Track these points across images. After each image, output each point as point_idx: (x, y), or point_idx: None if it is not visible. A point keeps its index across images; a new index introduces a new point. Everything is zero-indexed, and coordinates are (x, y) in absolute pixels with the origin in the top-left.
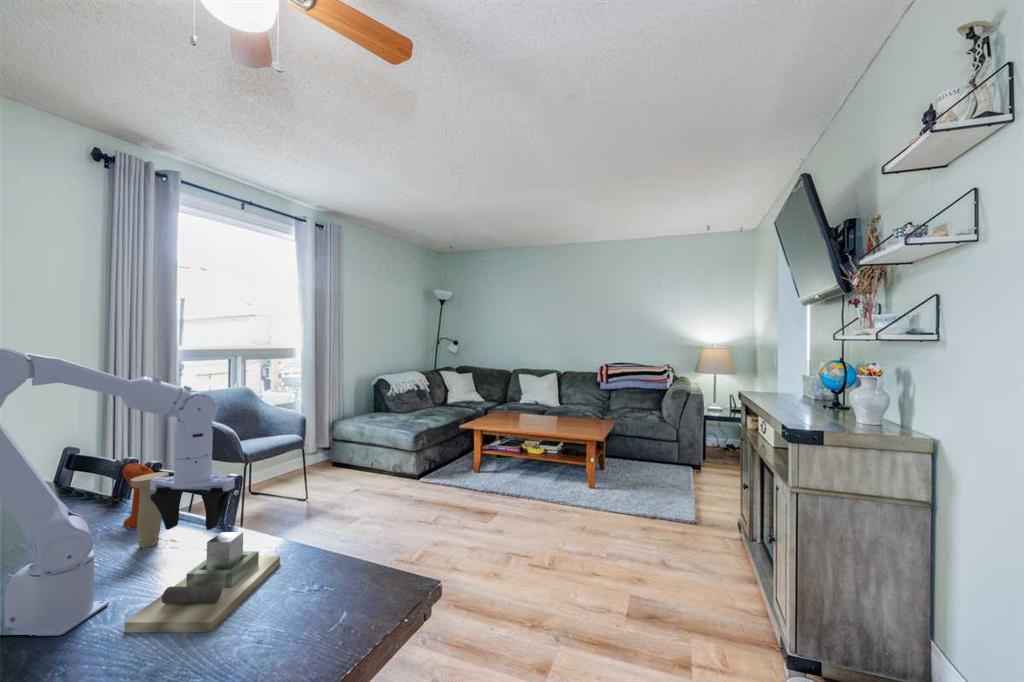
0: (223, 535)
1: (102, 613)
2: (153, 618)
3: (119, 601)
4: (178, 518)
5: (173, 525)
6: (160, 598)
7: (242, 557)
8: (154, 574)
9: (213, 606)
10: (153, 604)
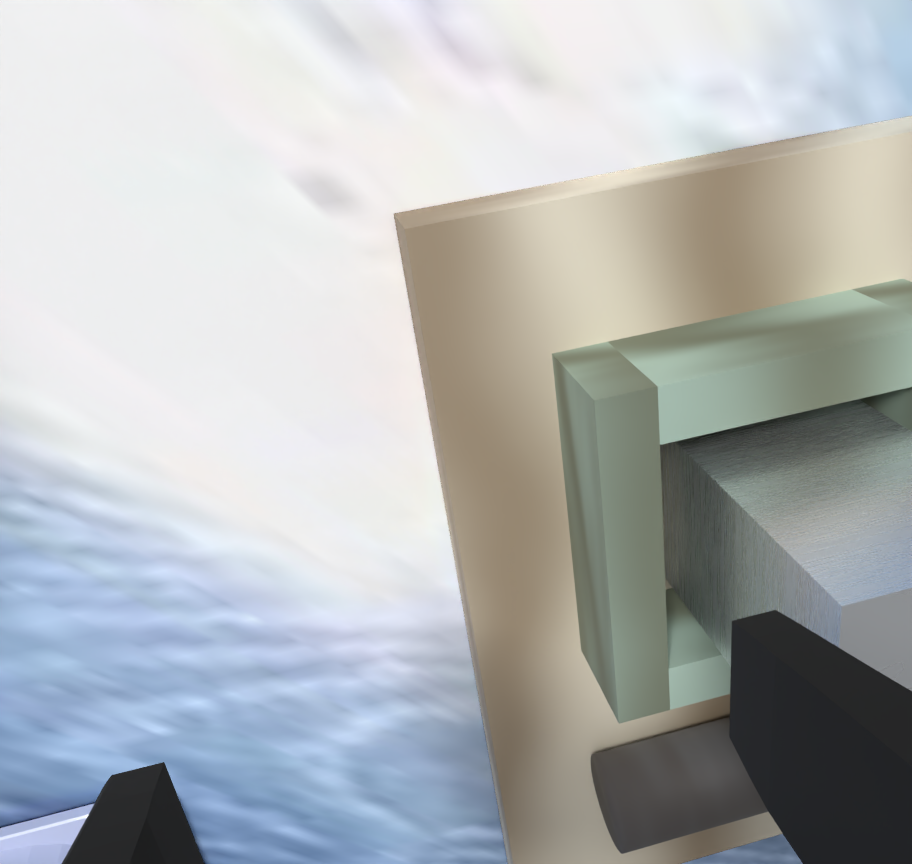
0: (910, 658)
1: (218, 829)
2: (635, 855)
3: (178, 746)
4: (146, 837)
5: (185, 845)
6: (514, 756)
7: (881, 417)
8: (12, 468)
9: None
10: (530, 800)
